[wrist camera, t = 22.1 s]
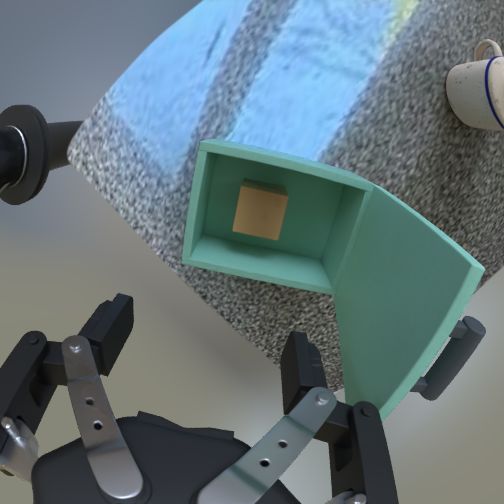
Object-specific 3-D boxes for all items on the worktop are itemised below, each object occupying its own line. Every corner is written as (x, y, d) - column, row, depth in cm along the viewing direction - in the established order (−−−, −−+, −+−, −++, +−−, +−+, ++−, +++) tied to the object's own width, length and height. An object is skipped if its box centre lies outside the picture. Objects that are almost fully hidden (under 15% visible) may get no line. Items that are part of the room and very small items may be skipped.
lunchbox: (196, 236, 34) (180, 264, 27) (214, 138, 29) (199, 141, 22) (323, 263, 34) (336, 296, 28) (352, 172, 30) (376, 185, 23)
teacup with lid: (490, 135, 26) (549, 148, 15) (443, 121, 26) (507, 127, 15) (486, 56, 21) (542, 50, 10) (438, 35, 21) (494, 15, 11)
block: (236, 217, 32) (232, 231, 28) (244, 178, 30) (240, 186, 26) (276, 225, 32) (278, 240, 28) (285, 186, 30) (289, 196, 26)
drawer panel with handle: (347, 444, 13) (413, 447, 12) (472, 263, 8) (535, 289, 7) (333, 297, 27) (375, 308, 27) (374, 184, 23) (419, 201, 22)
